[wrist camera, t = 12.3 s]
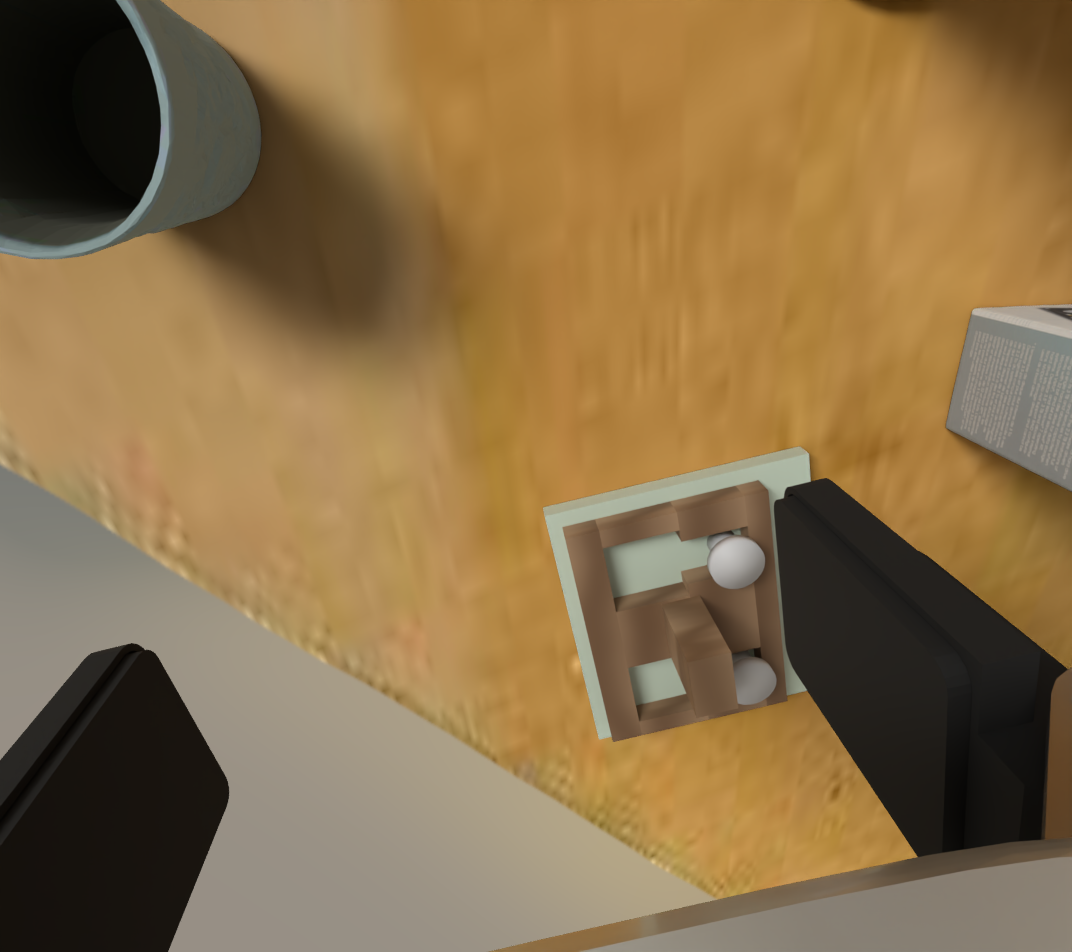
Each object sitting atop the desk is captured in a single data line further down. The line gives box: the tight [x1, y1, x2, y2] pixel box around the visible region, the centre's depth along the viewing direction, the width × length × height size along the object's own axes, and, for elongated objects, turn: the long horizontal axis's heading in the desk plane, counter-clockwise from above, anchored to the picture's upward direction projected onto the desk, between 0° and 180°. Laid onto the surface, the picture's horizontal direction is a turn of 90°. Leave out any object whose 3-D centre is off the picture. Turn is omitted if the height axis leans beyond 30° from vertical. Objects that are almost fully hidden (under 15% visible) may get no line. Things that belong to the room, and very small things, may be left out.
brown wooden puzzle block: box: [562, 480, 787, 742], centre depth 40 cm, size 12×16×7 cm
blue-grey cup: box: [0, 0, 261, 259], centre depth 26 cm, size 10×10×12 cm
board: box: [543, 446, 811, 739], centre depth 42 cm, size 16×18×4 cm
